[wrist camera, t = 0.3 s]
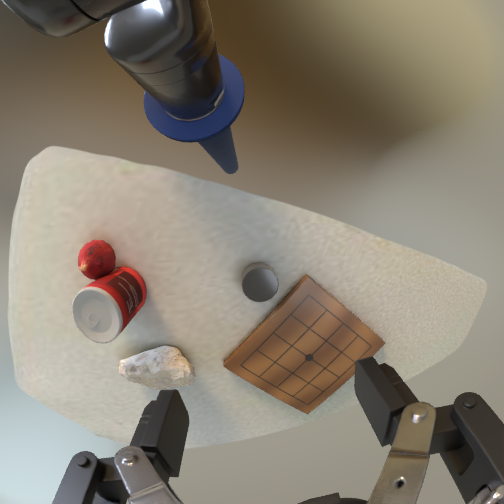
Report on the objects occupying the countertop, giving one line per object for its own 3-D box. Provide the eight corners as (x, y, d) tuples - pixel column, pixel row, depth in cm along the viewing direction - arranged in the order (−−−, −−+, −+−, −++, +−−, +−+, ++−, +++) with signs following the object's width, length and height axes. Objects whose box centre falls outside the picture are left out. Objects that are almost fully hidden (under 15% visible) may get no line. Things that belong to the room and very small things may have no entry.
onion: (99, 229, 38) (72, 238, 30) (128, 246, 39) (104, 259, 31) (89, 261, 39) (62, 275, 31) (116, 278, 40) (93, 295, 32)
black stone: (235, 280, 41) (234, 287, 38) (257, 255, 40) (258, 260, 37) (261, 300, 41) (262, 308, 39) (282, 276, 41) (285, 282, 38)
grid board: (223, 361, 44) (223, 366, 42) (306, 273, 41) (308, 277, 39) (306, 409, 47) (307, 414, 45) (382, 339, 44) (385, 343, 42)
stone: (187, 368, 48) (206, 396, 39) (126, 387, 42) (134, 419, 33) (177, 334, 46) (194, 358, 38) (112, 352, 41) (116, 381, 32)
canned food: (101, 299, 41) (68, 327, 30) (112, 257, 39) (76, 277, 29) (140, 319, 42) (114, 353, 31) (154, 277, 40) (126, 305, 30)
